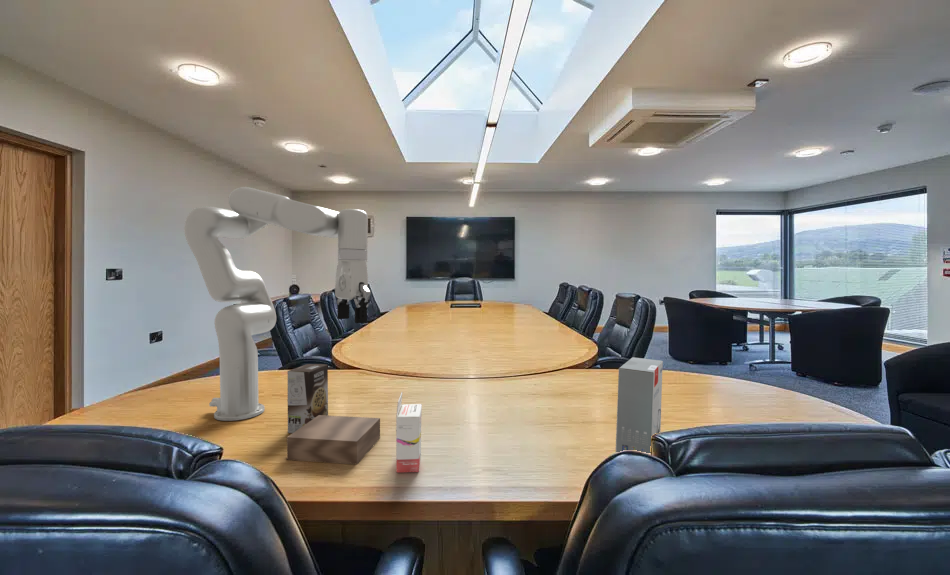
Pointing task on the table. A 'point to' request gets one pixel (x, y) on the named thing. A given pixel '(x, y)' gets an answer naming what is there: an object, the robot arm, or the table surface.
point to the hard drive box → (638, 404)
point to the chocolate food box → (307, 394)
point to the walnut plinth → (334, 439)
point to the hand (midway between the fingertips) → (351, 320)
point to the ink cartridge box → (408, 437)
